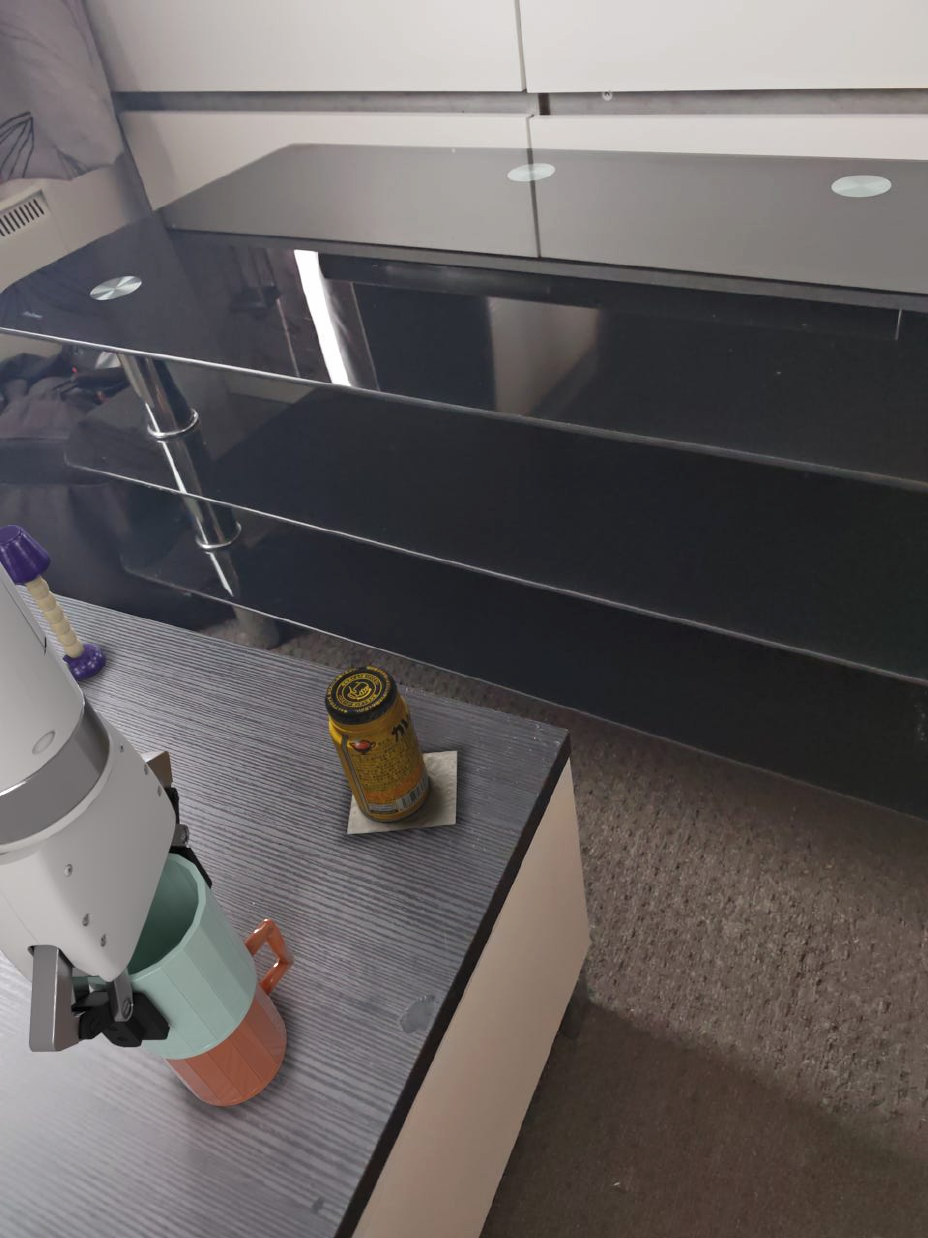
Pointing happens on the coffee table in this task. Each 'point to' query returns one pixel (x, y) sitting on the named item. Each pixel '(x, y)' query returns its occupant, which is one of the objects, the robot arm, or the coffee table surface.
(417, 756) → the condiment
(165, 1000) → the cup
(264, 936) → the mug
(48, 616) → the toy lamp
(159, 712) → the coffee table surface
